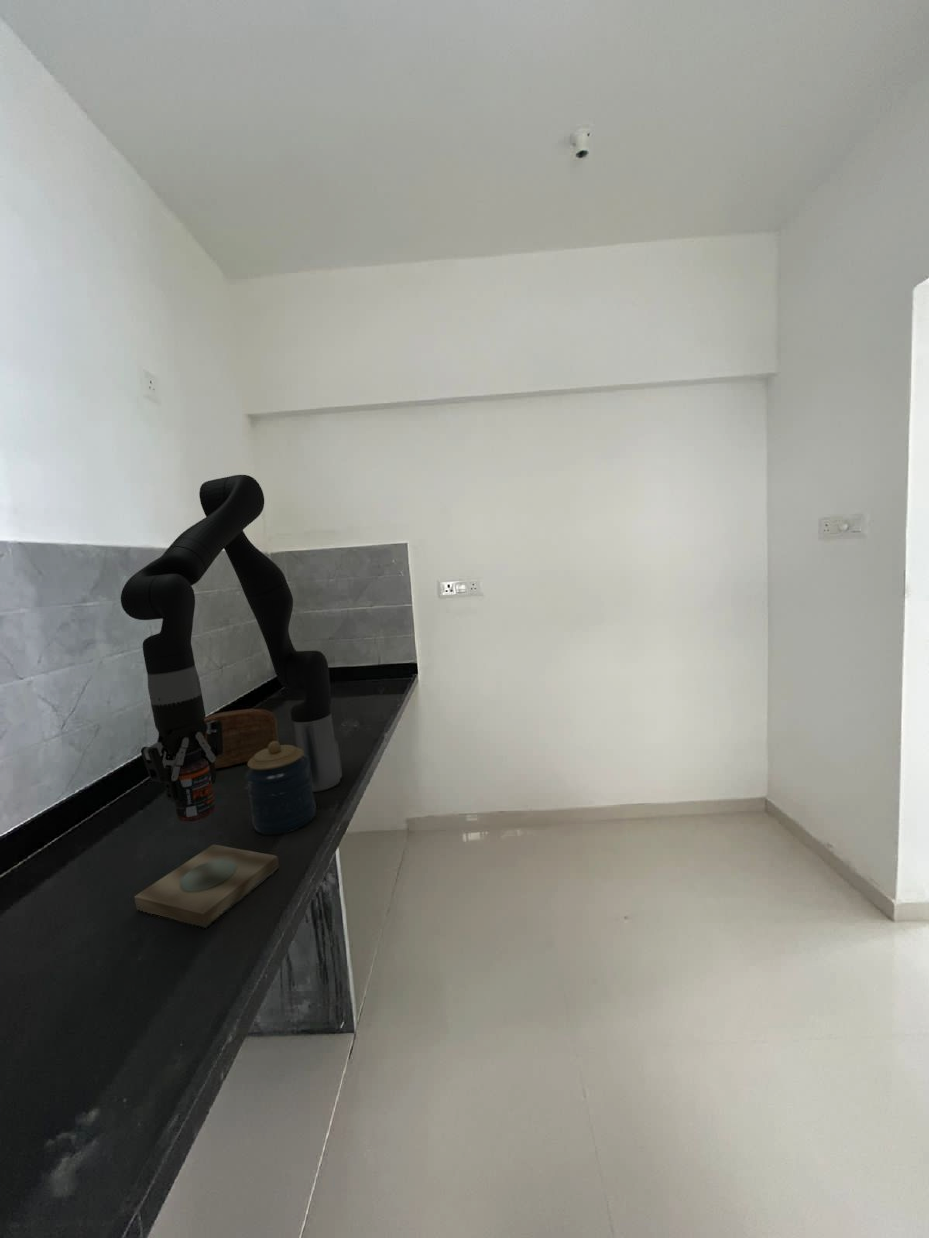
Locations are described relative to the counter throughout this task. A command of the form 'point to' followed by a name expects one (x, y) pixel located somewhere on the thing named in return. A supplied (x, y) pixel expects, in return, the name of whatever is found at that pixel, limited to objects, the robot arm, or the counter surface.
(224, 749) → the bread
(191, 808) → the supplement bottle
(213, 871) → the oak board
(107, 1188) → the counter surface
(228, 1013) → the counter surface
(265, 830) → the canister
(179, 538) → the robot arm
